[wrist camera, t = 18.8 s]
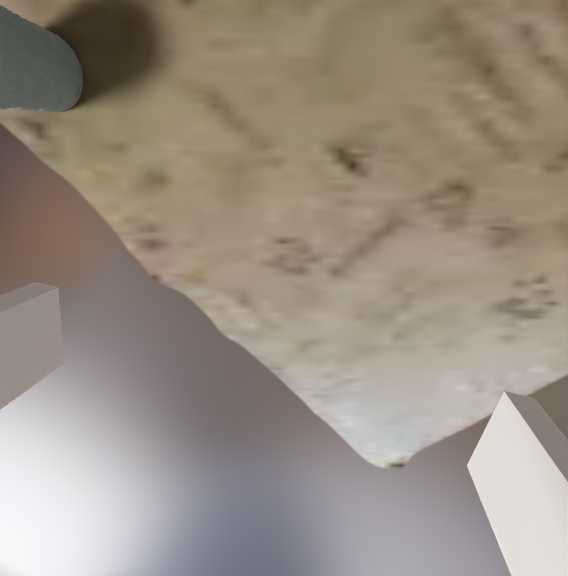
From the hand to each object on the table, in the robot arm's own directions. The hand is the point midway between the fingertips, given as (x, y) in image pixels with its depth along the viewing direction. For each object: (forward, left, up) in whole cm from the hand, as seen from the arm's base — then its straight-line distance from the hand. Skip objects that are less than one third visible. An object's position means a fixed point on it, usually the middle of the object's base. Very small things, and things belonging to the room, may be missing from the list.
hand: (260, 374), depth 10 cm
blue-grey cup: (-10, -36, -35) cm, 51 cm away
